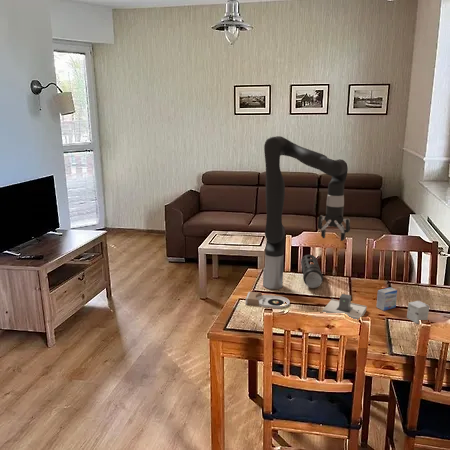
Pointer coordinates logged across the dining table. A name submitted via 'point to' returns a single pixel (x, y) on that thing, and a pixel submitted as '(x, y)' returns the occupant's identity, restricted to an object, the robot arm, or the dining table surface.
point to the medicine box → (386, 298)
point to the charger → (345, 303)
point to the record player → (266, 300)
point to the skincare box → (417, 311)
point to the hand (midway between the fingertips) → (332, 239)
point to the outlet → (355, 312)
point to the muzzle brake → (311, 271)
